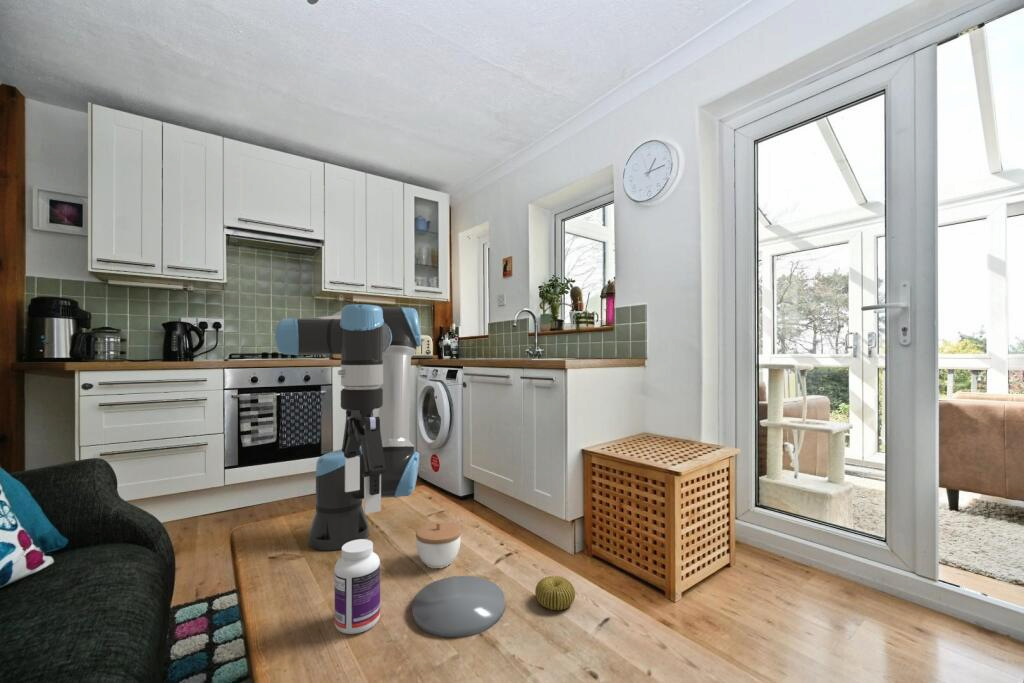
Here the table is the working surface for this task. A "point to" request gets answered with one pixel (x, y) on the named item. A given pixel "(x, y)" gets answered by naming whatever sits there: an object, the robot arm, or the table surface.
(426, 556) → the lidded jar
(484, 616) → the grey plate
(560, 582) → the green barrel cactus
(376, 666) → the table surface
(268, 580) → the table surface
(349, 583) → the pill bottle
